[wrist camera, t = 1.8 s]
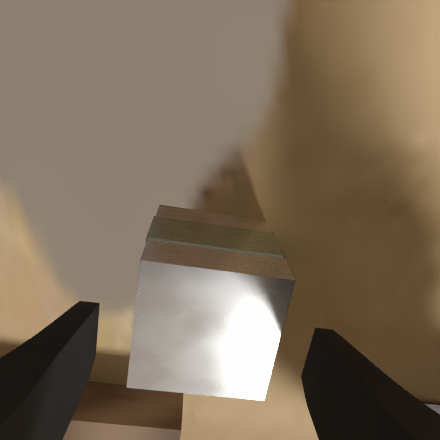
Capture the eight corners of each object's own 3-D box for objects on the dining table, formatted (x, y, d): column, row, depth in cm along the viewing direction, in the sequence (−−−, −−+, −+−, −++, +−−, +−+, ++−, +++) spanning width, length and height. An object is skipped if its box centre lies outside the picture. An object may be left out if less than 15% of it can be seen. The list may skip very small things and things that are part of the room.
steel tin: (266, 219, 18) (296, 278, 12) (246, 311, 19) (265, 401, 14) (158, 203, 17) (139, 258, 12) (147, 299, 19) (124, 388, 13)
